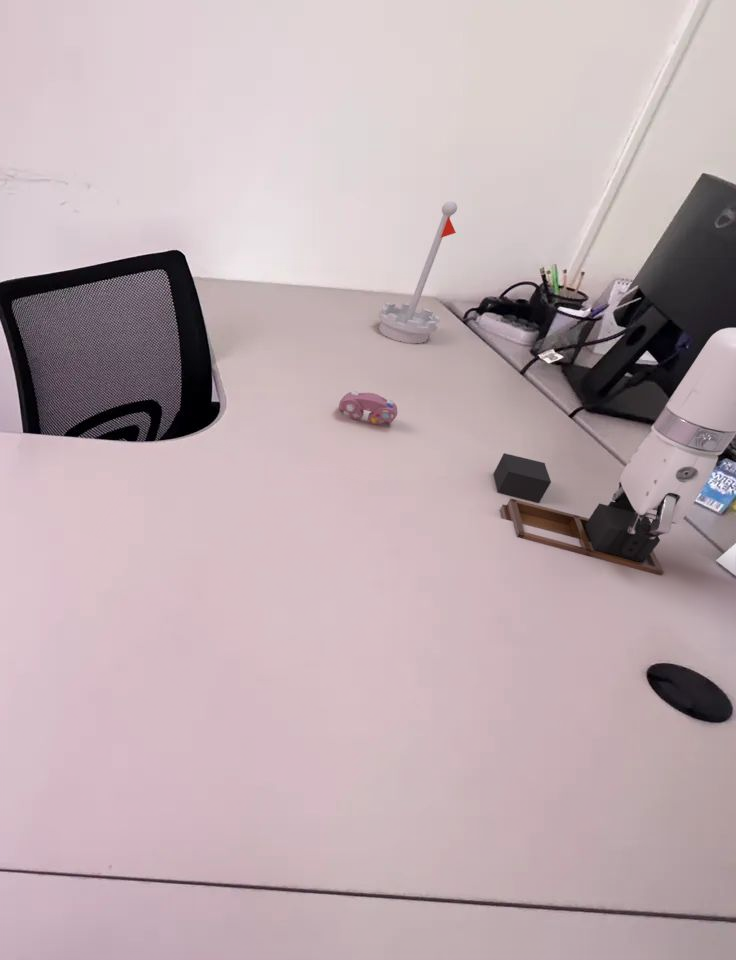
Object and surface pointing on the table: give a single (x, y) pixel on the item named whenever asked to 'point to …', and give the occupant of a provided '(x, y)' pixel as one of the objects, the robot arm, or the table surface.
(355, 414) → the video game controller
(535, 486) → the black pad
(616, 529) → the black pad
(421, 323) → the flag stand
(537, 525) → the brown wooden frame
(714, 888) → the table surface
